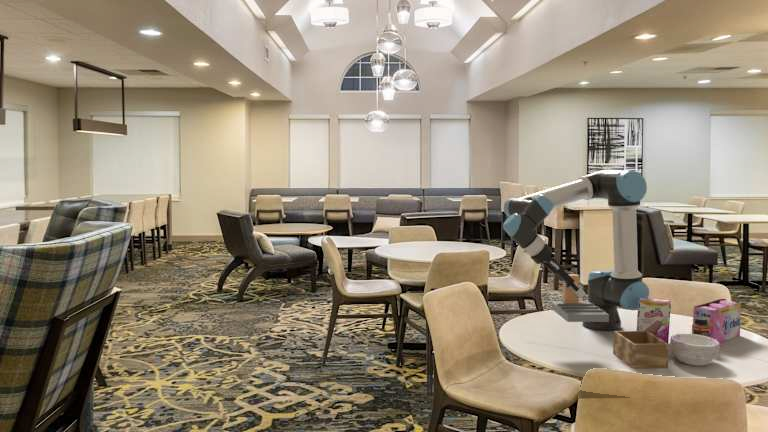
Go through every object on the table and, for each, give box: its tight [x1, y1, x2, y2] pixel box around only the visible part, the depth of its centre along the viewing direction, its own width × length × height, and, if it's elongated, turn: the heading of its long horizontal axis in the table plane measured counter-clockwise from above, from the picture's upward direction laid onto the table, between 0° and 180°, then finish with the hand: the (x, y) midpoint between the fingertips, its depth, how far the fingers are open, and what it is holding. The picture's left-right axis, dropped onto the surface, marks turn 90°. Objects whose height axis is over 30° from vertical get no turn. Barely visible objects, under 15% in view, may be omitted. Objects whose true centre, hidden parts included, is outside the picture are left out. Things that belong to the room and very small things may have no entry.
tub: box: [612, 330, 670, 369], centre depth 220 cm, size 16×12×8 cm
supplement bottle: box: [691, 317, 710, 337], centre depth 233 cm, size 6×6×11 cm
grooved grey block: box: [549, 273, 609, 323], centre depth 225 cm, size 20×14×12 cm
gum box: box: [692, 298, 742, 344], centre depth 246 cm, size 24×8×14 cm, turn 127°
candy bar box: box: [636, 298, 672, 344], centre depth 240 cm, size 11×5×16 cm, turn 71°
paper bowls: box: [669, 332, 721, 367], centre depth 219 cm, size 15×15×8 cm
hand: (581, 294), depth 234 cm, fingers closed on grooved grey block, 3 cm apart
